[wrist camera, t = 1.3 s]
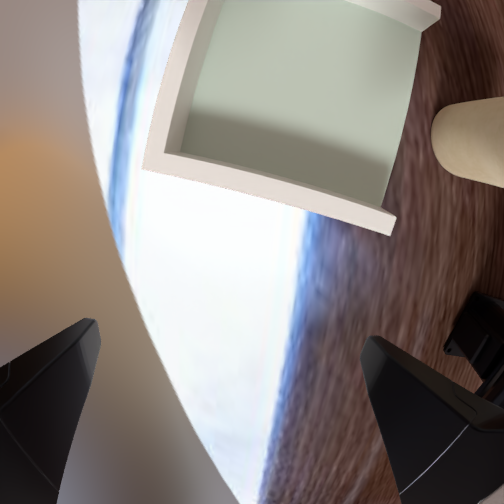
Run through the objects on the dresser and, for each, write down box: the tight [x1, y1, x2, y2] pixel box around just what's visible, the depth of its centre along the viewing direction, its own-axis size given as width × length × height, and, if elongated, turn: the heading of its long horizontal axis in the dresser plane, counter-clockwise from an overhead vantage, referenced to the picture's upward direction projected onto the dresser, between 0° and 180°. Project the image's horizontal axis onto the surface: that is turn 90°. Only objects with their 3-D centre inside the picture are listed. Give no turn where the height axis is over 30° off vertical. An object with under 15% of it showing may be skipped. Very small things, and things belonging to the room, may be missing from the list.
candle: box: [431, 97, 504, 188], centre depth 13 cm, size 6×6×10 cm
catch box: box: [142, 0, 441, 236], centre depth 16 cm, size 15×16×4 cm
